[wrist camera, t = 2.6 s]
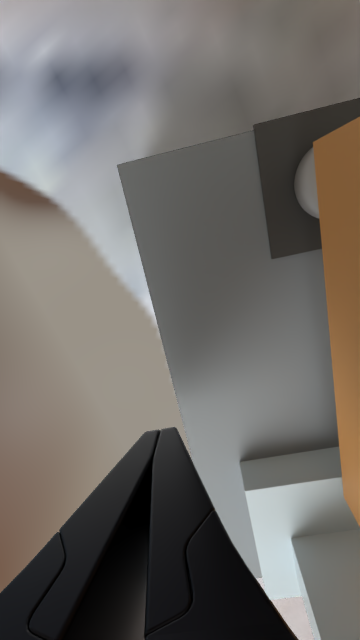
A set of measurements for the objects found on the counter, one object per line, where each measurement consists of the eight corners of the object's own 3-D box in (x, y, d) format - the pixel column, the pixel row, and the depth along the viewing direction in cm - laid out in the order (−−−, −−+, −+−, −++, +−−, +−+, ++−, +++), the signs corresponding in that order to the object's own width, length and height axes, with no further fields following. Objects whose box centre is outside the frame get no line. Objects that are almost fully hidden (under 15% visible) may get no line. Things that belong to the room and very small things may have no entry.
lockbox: (420, 108, 11) (561, 46, 7) (419, 458, 16) (504, 551, 12) (141, 177, 12) (114, 159, 8) (215, 488, 17) (224, 584, 13)
